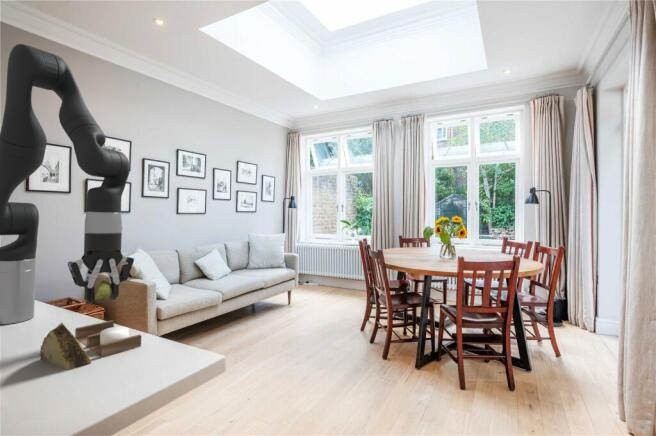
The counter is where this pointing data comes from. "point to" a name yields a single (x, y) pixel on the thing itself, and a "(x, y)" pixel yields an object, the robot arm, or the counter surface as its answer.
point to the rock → (63, 349)
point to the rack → (92, 341)
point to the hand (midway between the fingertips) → (101, 300)
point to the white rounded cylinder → (113, 334)
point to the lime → (103, 292)
